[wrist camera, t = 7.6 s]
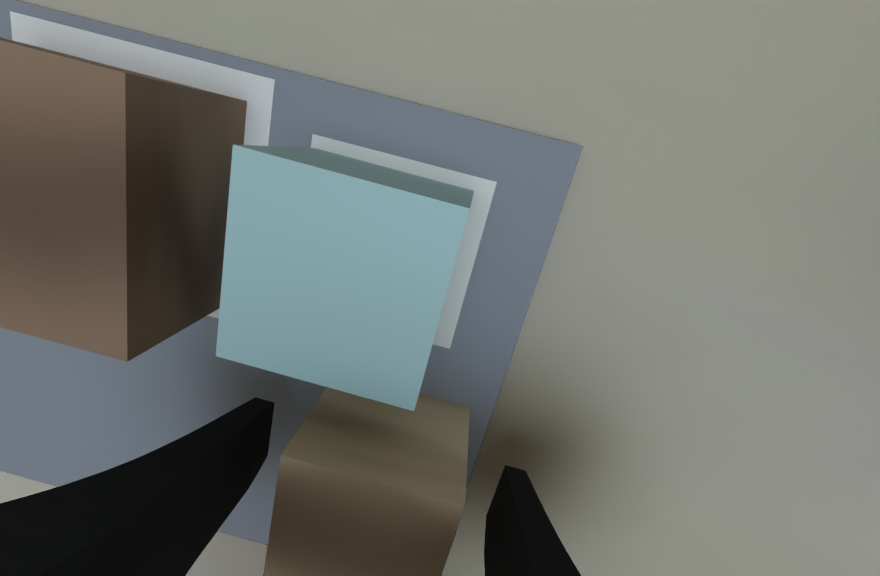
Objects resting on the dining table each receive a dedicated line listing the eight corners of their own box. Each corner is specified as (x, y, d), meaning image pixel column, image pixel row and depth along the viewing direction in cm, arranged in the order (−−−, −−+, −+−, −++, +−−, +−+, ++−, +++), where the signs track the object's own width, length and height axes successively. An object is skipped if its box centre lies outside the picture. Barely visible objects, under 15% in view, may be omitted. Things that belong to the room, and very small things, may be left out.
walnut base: (230, 301, 13) (127, 362, 9) (51, 253, 13) (-125, 293, 9) (247, 101, 11) (124, 73, 7) (36, 46, 11) (-192, -10, 7)
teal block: (295, 296, 13) (215, 355, 9) (316, 148, 11) (232, 144, 8) (434, 334, 13) (414, 411, 9) (474, 190, 11) (469, 208, 7)
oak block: (437, 509, 15) (422, 630, 11) (317, 476, 15) (261, 585, 11) (469, 406, 13) (464, 505, 10) (337, 370, 13) (280, 455, 10)
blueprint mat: (432, 580, 16) (431, 591, 16) (8, 462, 17) (-4, 470, 16) (579, 146, 11) (583, 146, 11) (-53, -17, 11) (-73, -23, 11)
